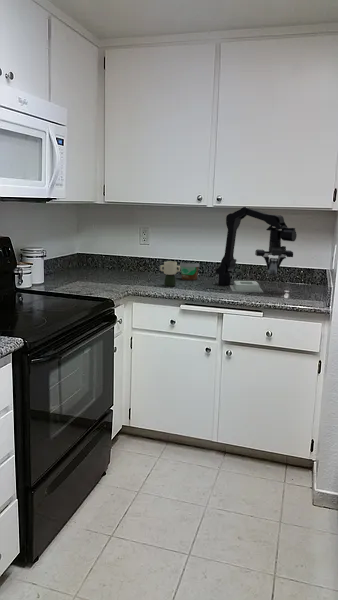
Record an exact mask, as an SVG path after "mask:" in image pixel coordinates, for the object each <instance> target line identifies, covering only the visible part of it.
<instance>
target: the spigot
mask: <svg viewBox="0 0 338 600" xmlns="http://www.w3.org/2000/svg"><path fill="white" fill-rule="evenodd" d="M277 266H278V257H269V270H267V271H268V273H267V274H269V275H277V274H278V270H277Z"/></svg>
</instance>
